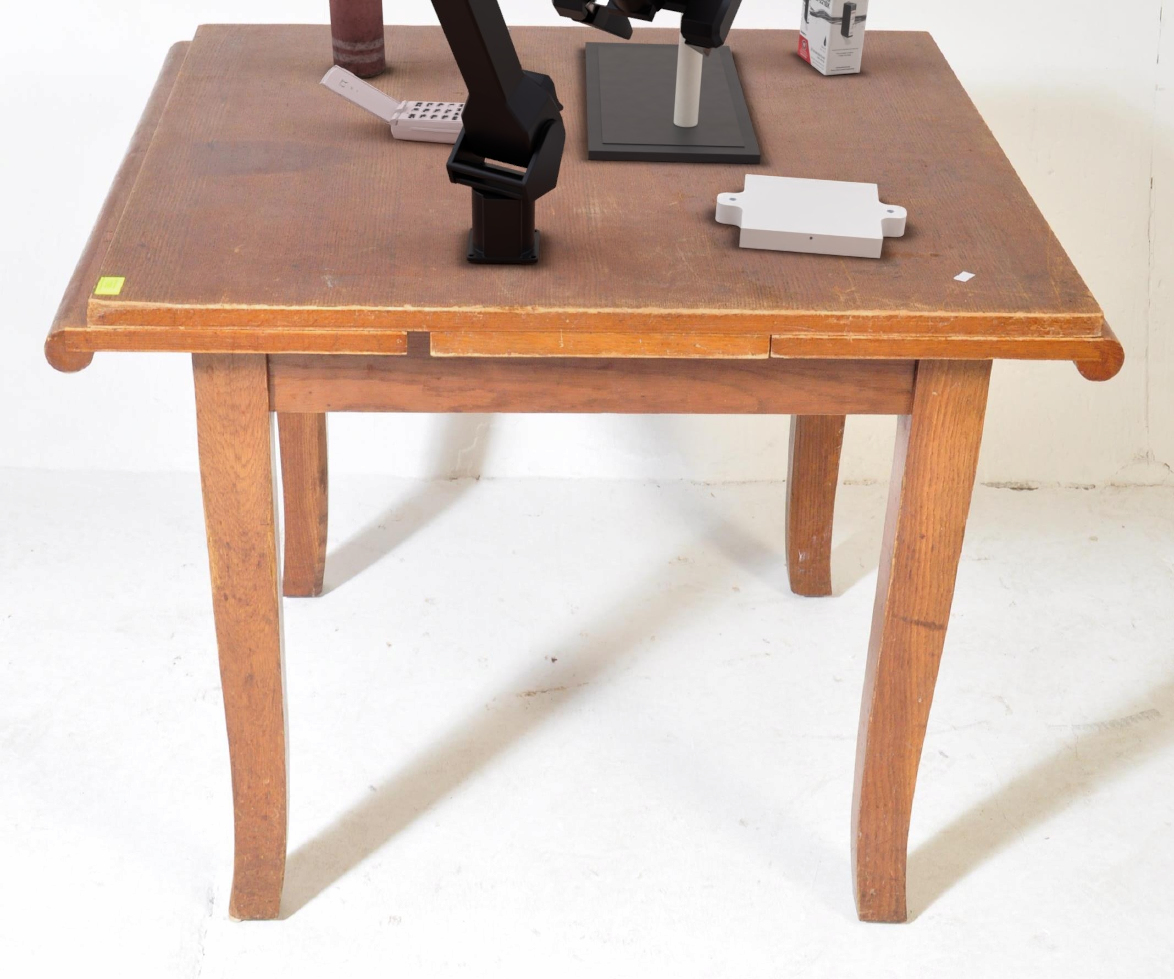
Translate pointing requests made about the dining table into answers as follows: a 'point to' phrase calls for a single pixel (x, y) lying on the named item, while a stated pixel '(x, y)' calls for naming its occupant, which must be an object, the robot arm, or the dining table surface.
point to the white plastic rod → (687, 85)
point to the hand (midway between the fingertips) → (668, 44)
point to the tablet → (663, 107)
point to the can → (358, 36)
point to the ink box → (833, 34)
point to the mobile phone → (398, 109)
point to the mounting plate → (811, 216)
